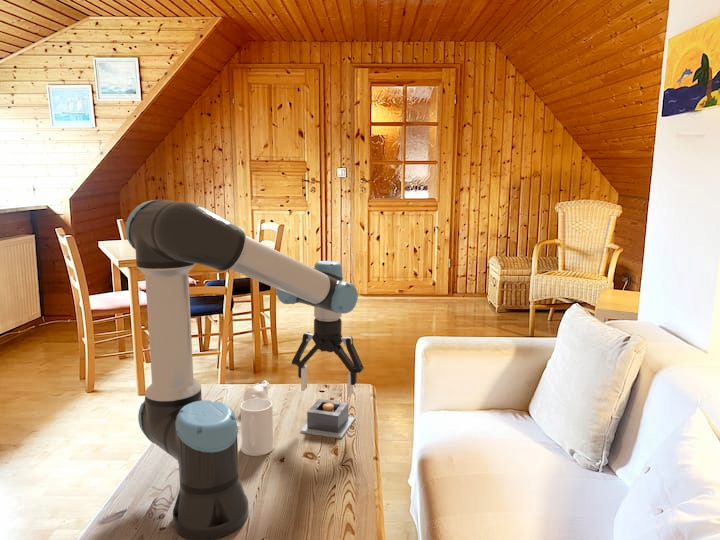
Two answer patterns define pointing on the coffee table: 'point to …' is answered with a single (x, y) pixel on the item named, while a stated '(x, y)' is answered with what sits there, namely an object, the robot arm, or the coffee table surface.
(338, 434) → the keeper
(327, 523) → the coffee table surface
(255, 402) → the mug
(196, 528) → the robot arm
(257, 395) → the figurine
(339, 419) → the hollow square block
